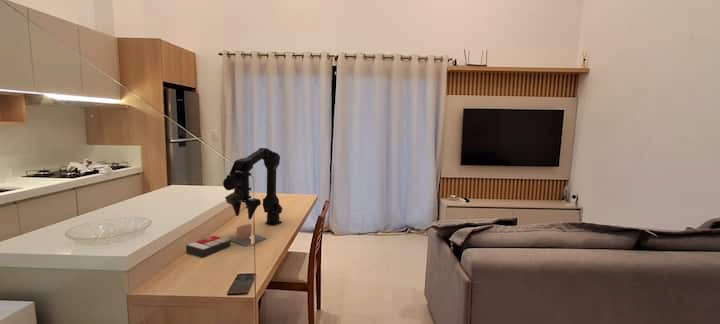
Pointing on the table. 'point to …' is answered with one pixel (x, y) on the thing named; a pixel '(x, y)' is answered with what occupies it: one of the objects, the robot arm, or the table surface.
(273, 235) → the table surface
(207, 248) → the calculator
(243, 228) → the block
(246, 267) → the table surface
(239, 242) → the mat
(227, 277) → the table surface
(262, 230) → the table surface
